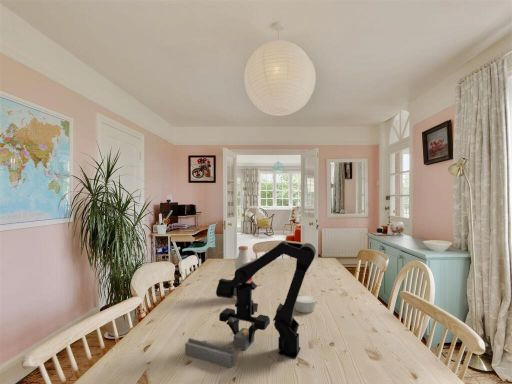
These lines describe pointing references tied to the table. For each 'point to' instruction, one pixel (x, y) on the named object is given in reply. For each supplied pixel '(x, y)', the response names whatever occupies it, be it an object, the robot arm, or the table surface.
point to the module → (242, 339)
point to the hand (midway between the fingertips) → (244, 341)
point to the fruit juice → (242, 260)
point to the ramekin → (305, 303)
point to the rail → (210, 352)
